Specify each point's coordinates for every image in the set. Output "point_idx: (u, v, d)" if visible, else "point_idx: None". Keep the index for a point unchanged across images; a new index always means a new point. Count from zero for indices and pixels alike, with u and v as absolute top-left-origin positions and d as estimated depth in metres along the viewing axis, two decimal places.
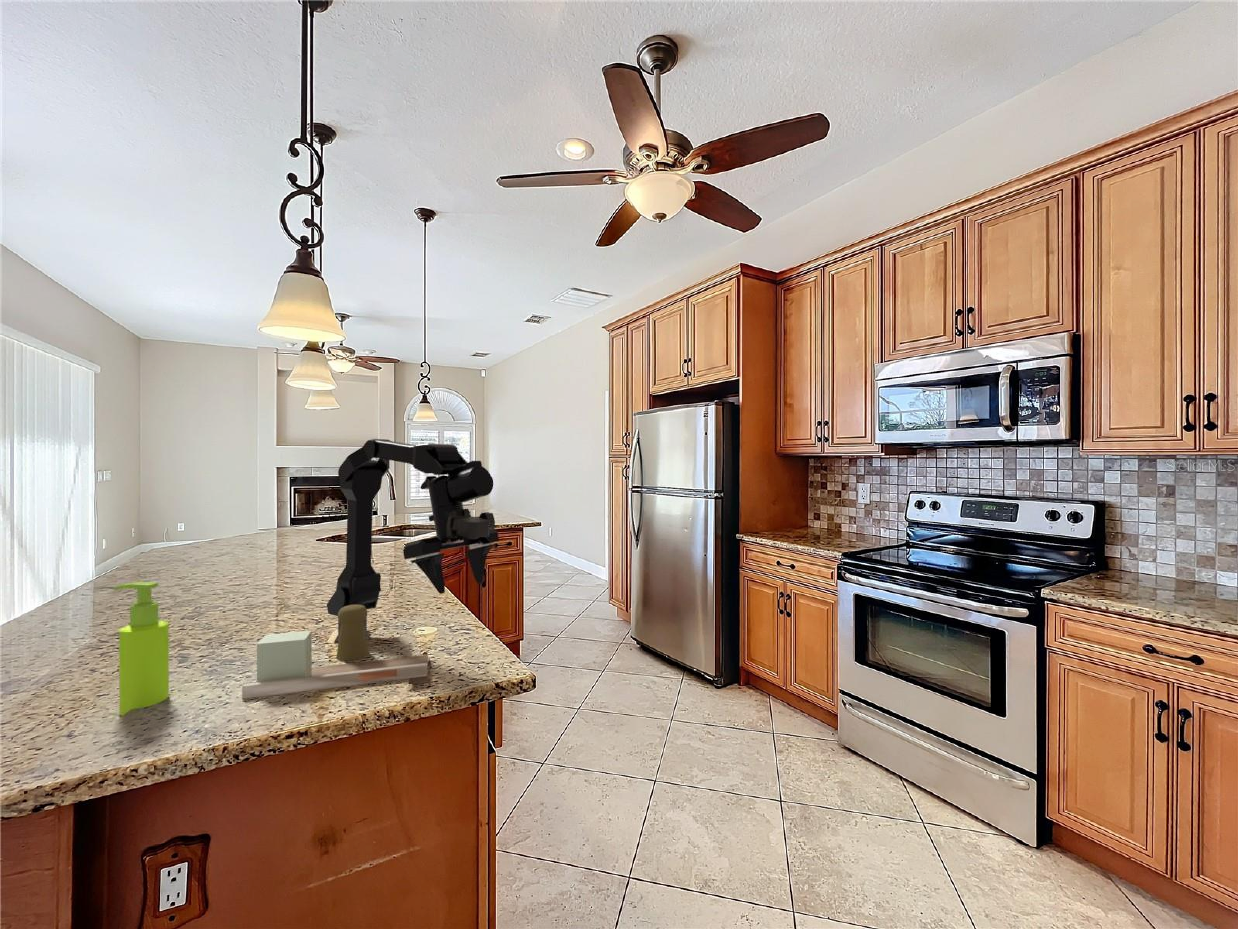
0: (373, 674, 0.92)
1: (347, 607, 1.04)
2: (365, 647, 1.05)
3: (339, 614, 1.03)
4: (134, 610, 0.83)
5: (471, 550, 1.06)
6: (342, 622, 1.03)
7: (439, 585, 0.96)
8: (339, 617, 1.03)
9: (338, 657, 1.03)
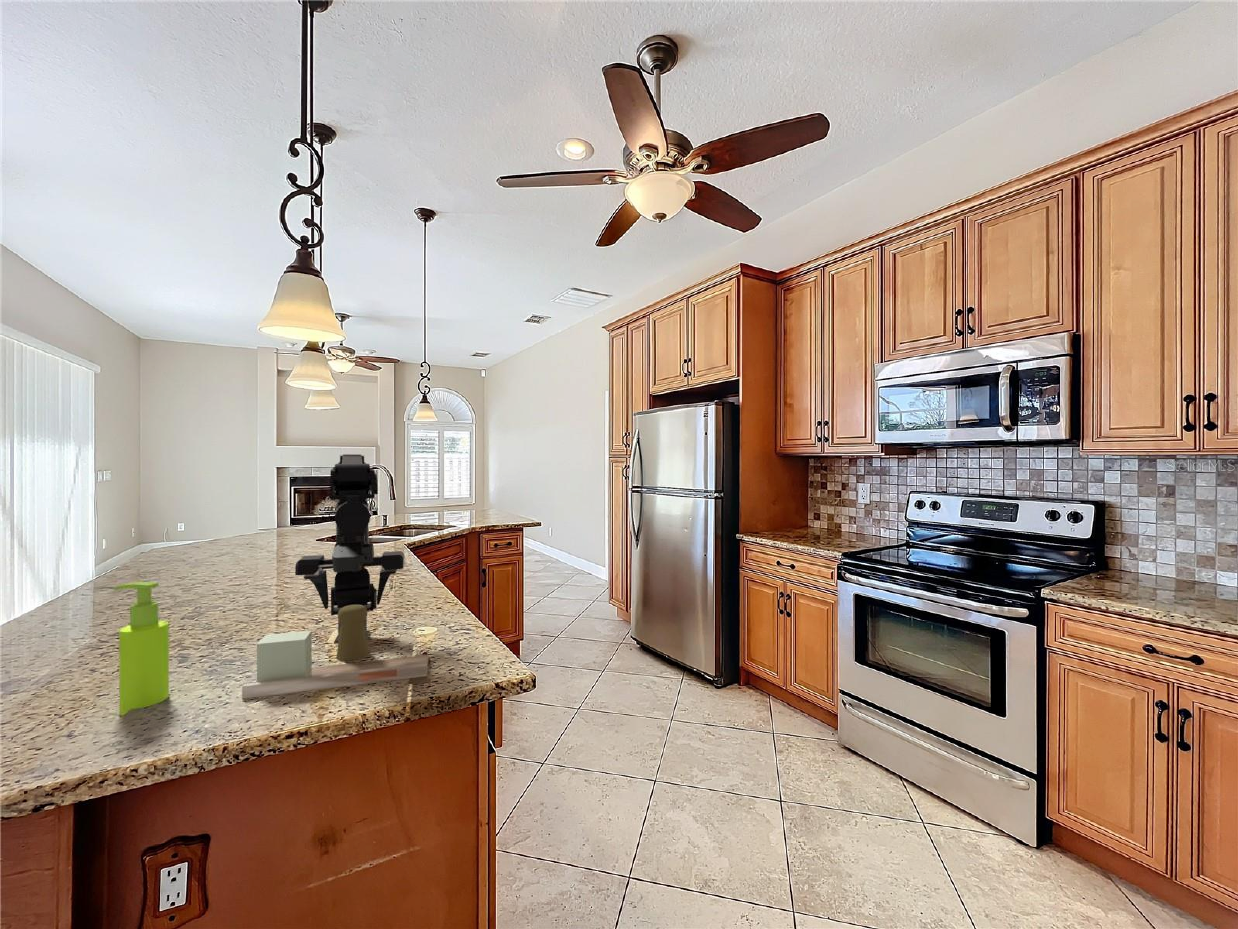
0: (373, 674, 0.92)
1: (347, 607, 1.04)
2: (365, 647, 1.05)
3: (339, 614, 1.03)
4: (134, 610, 0.83)
5: None
6: (342, 622, 1.03)
7: (322, 601, 1.03)
8: (339, 617, 1.03)
9: (338, 657, 1.03)
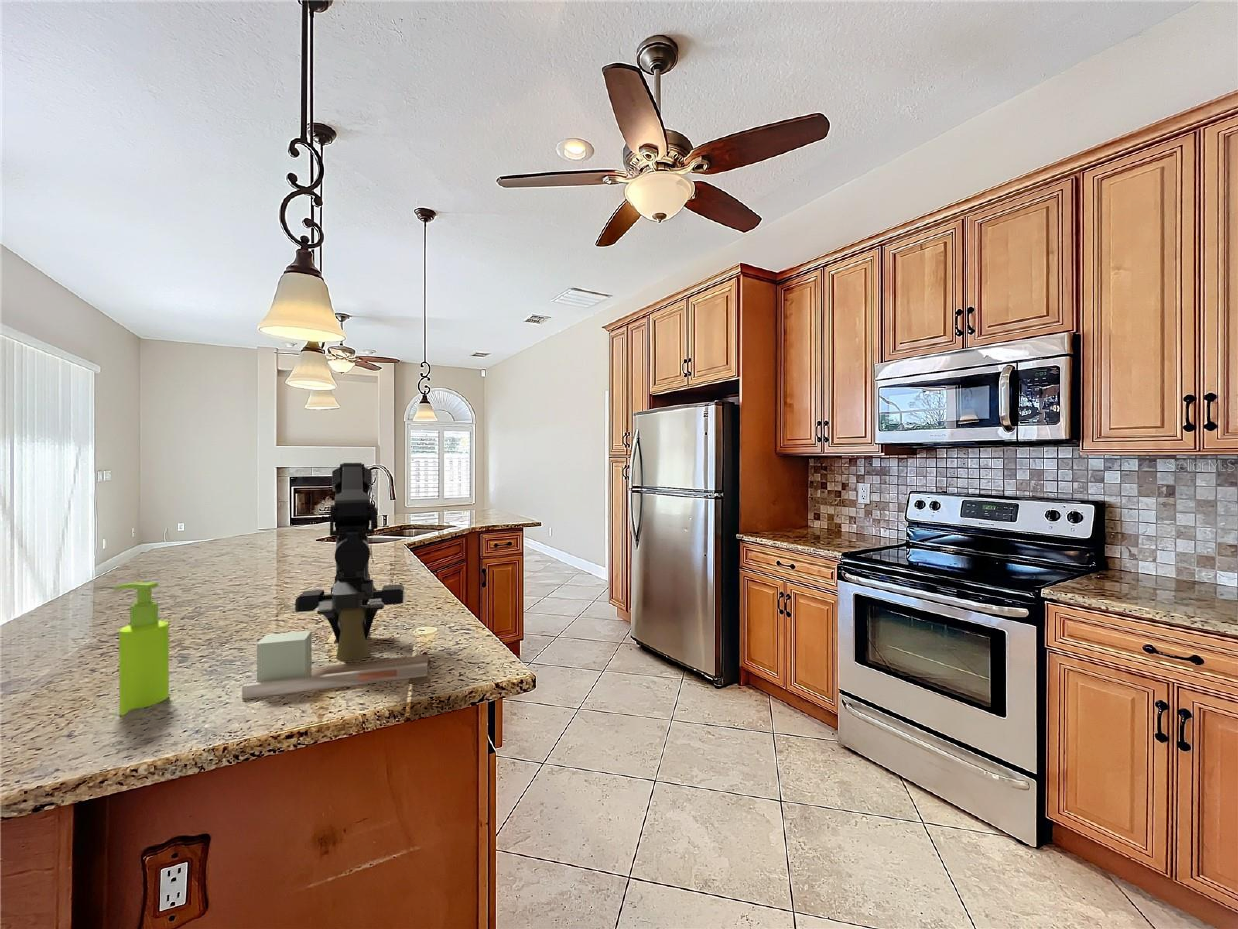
0: (373, 674, 0.92)
1: None
2: (365, 647, 1.05)
3: (339, 614, 1.03)
4: (134, 610, 0.83)
5: (369, 604, 1.07)
6: (342, 622, 1.03)
7: (335, 635, 1.03)
8: (339, 617, 1.03)
9: (338, 657, 1.03)
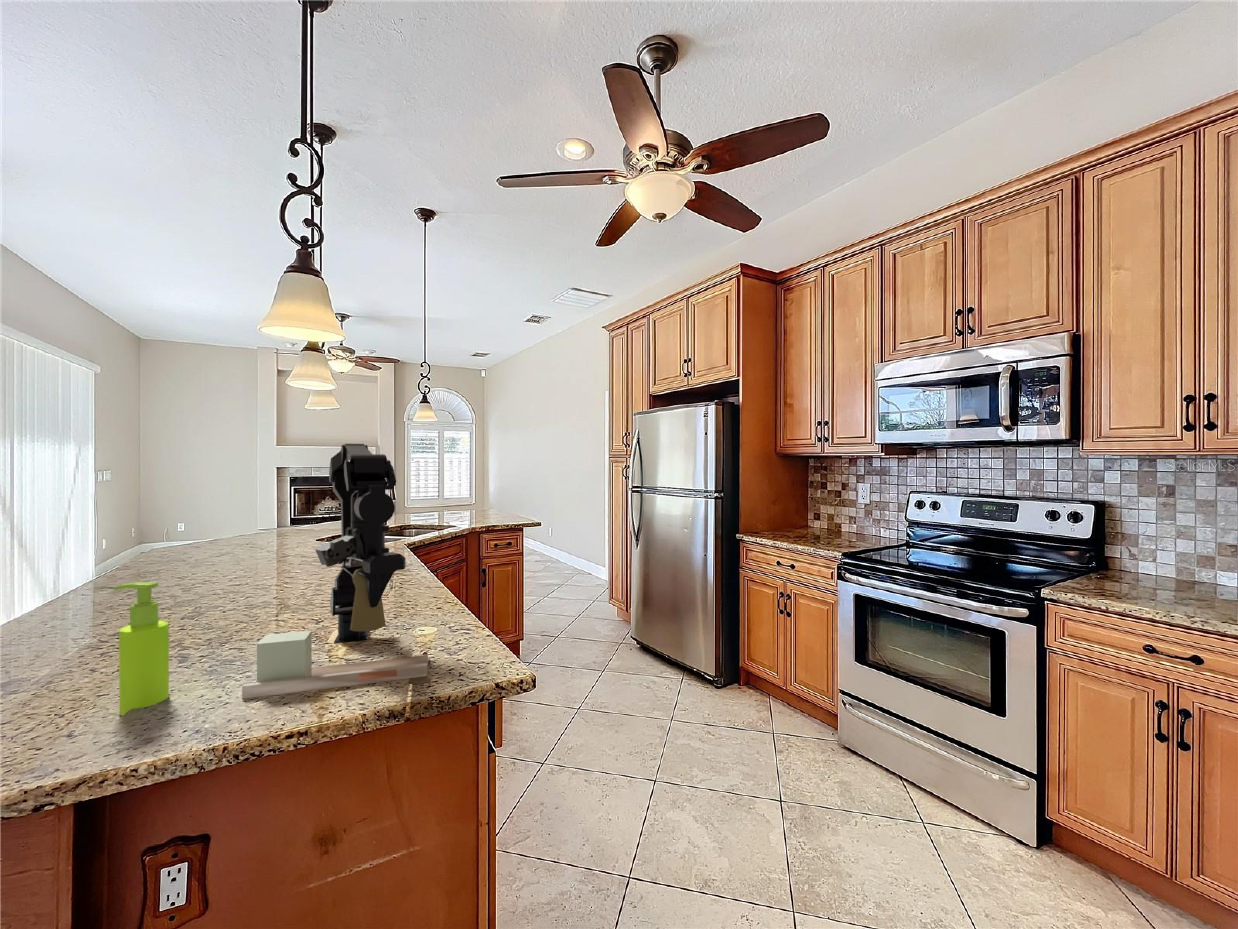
0: (373, 674, 0.92)
1: None
2: (367, 614, 0.97)
3: None
4: (134, 610, 0.83)
5: None
6: None
7: None
8: None
9: None
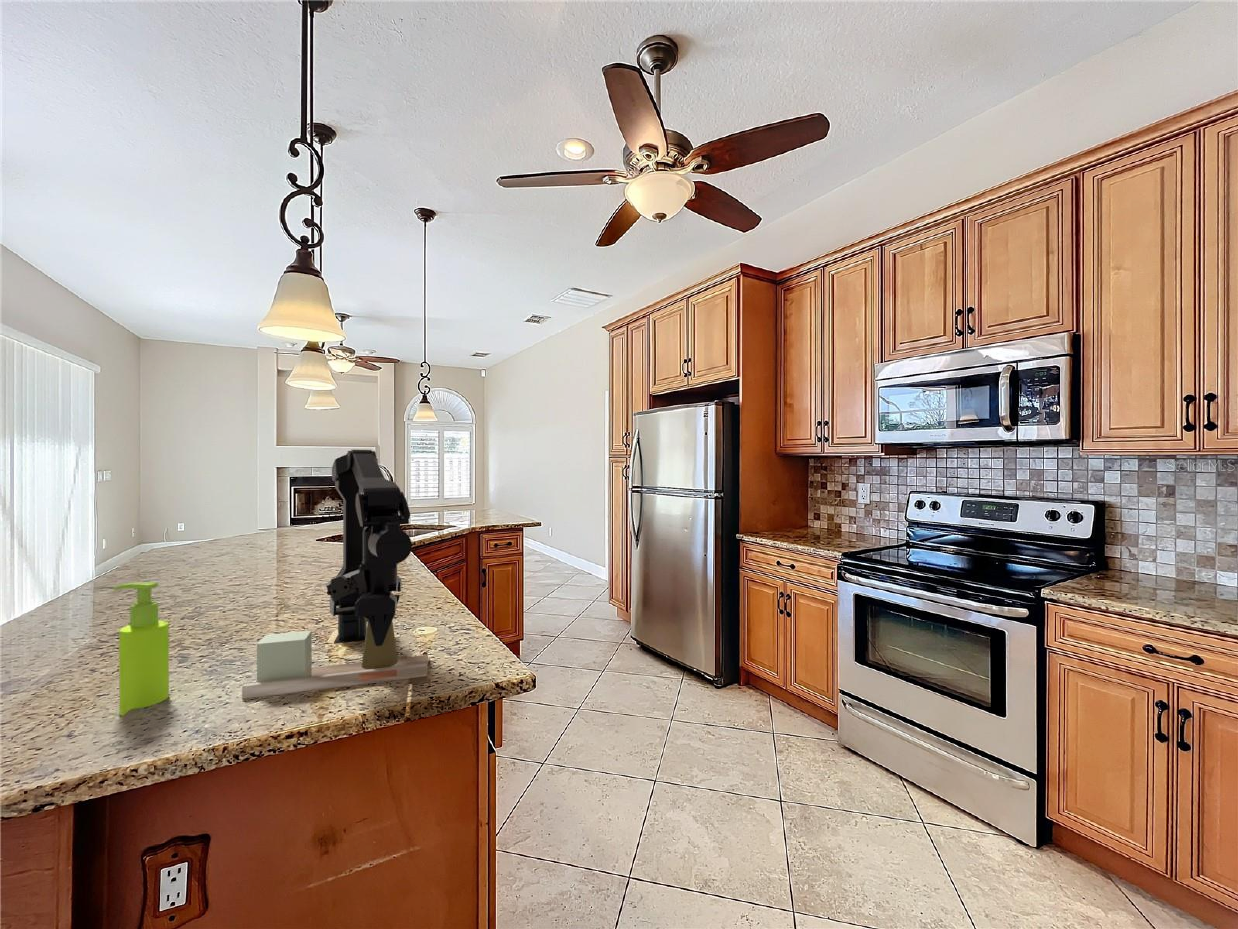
0: (373, 674, 0.92)
1: None
2: (372, 652, 0.94)
3: None
4: (134, 610, 0.83)
5: None
6: None
7: None
8: None
9: None
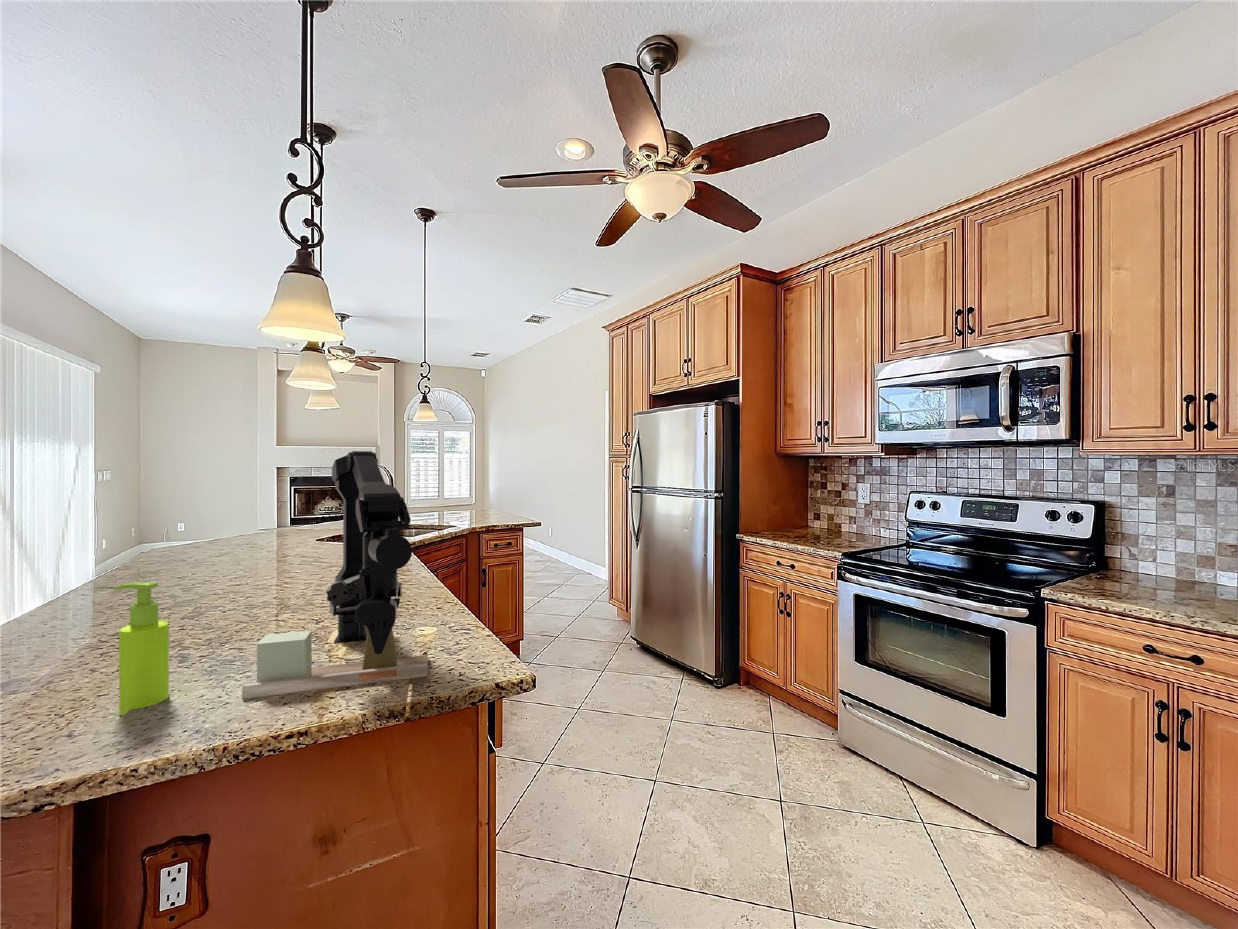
0: (373, 674, 0.92)
1: None
2: (372, 661, 0.94)
3: None
4: (134, 610, 0.83)
5: None
6: None
7: None
8: None
9: None
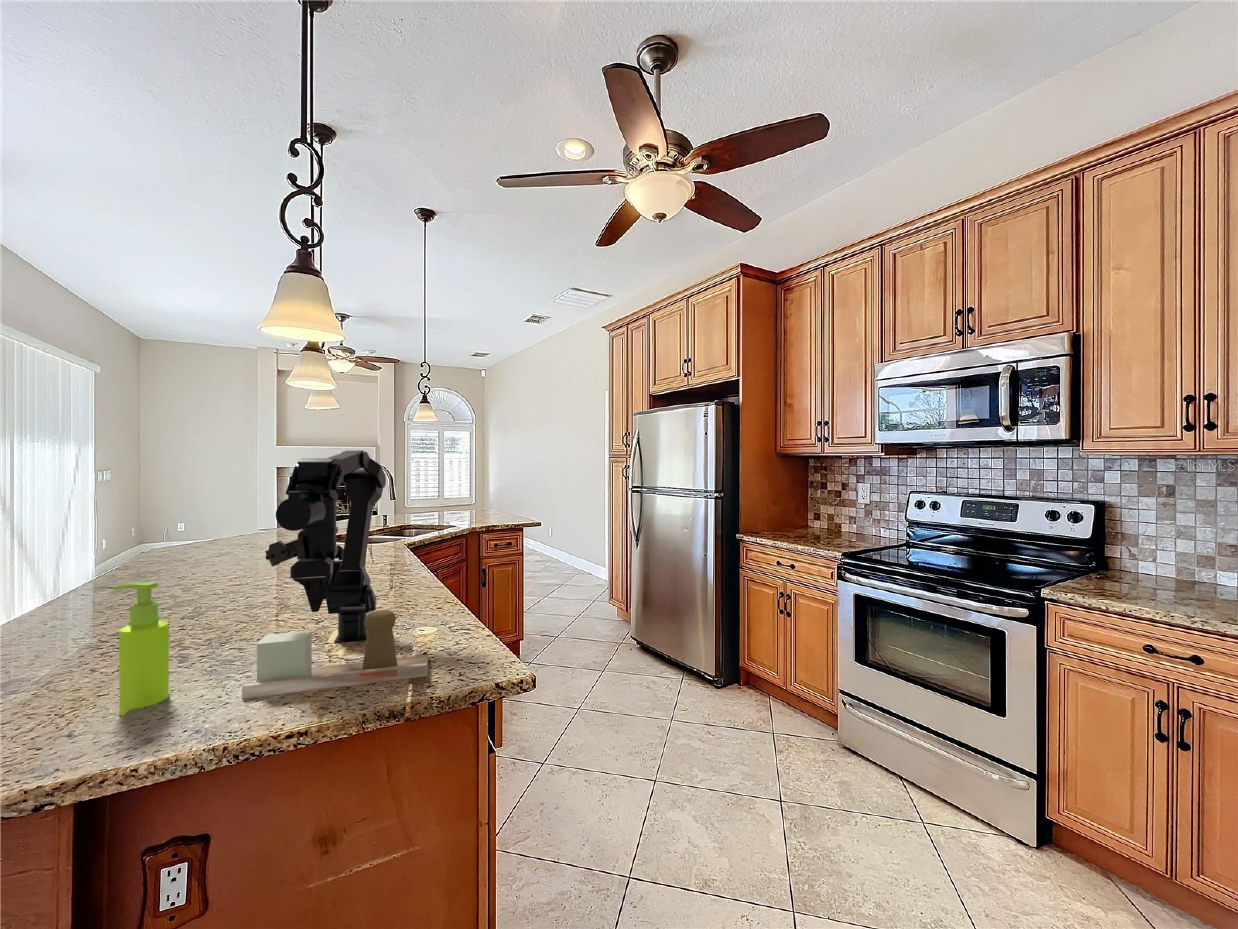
0: (373, 674, 0.92)
1: (376, 611, 0.97)
2: (372, 661, 0.94)
3: None
4: (134, 610, 0.83)
5: None
6: None
7: None
8: None
9: None
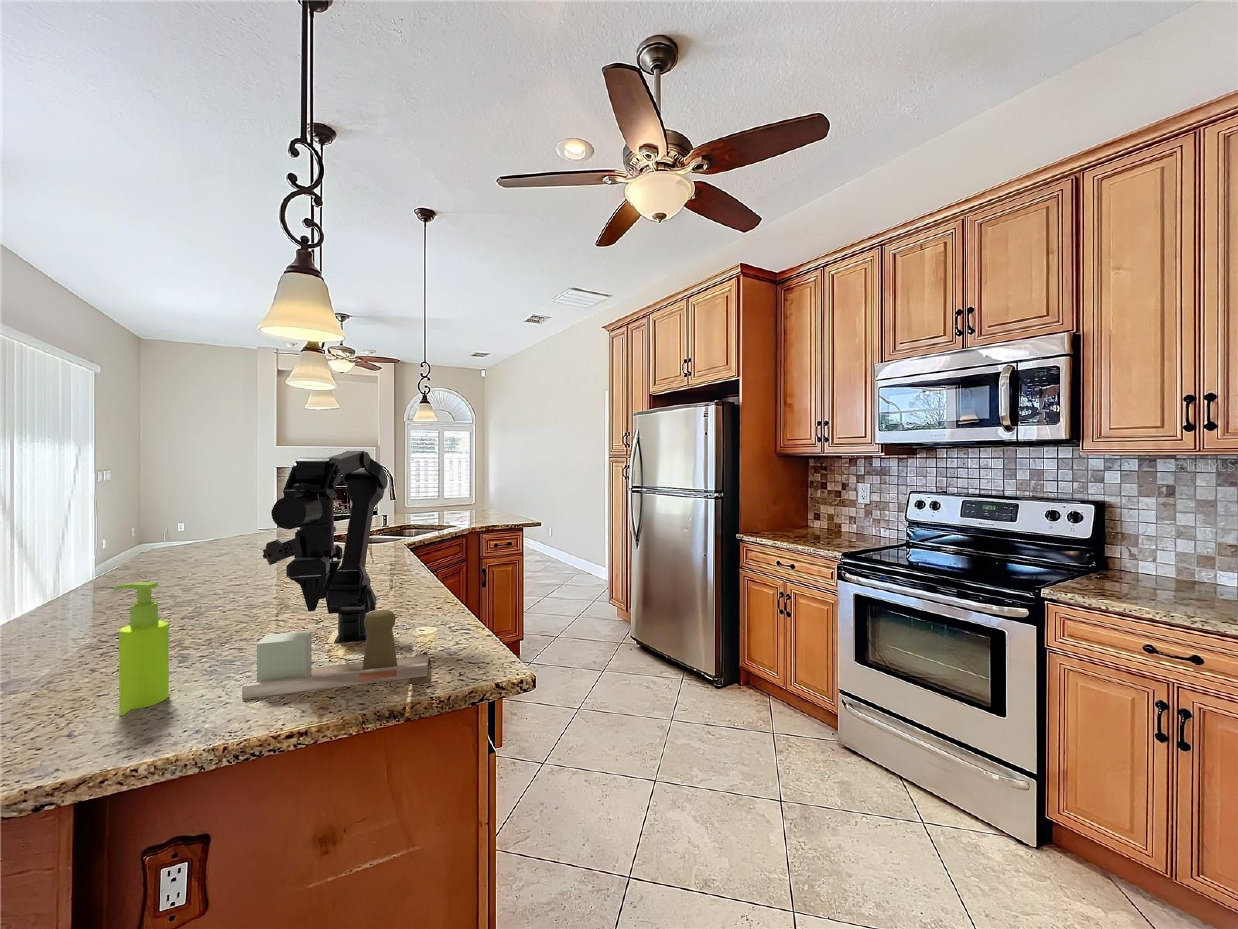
0: (373, 674, 0.92)
1: (376, 611, 0.97)
2: (372, 661, 0.94)
3: None
4: (134, 610, 0.83)
5: None
6: None
7: None
8: None
9: None
